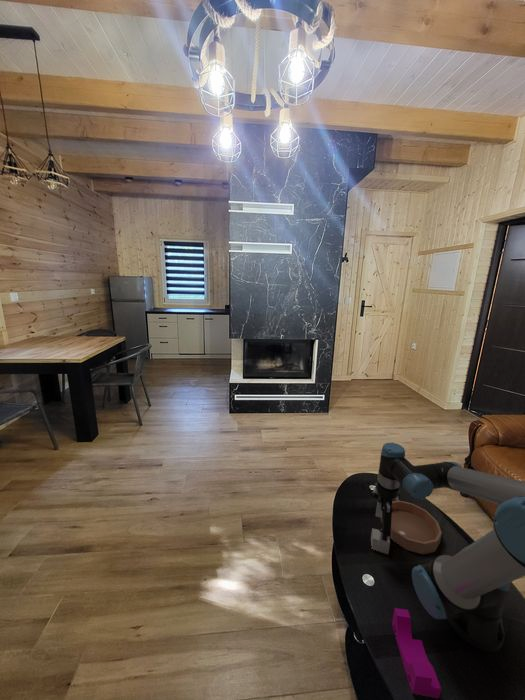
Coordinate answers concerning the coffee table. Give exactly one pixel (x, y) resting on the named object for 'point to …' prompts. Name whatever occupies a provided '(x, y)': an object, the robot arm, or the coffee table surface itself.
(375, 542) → the grey cube
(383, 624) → the coffee table surface
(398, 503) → the bowl
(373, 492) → the packaged food
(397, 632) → the toy block
